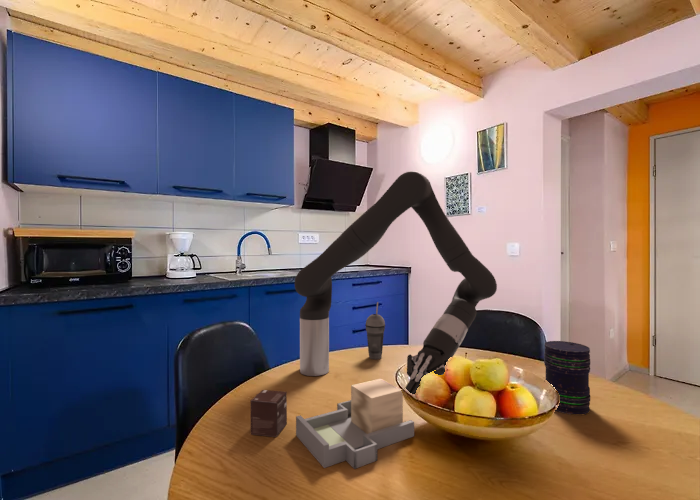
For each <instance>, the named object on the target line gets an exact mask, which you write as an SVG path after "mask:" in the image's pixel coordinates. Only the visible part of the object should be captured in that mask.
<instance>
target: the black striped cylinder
mask: <svg viewBox="0 0 700 500" xmlns="http://www.w3.org/2000/svg"><path fill="white" fill-rule="evenodd" d="M590 353H591V348H590V347H589V346H587V345H585V344H581V343H577V342H572V341H564V340H550V341H545V342H544V353H543V354H544V355H543V358H544V366H545V380H547V381H548V382H549V383H550V384H552V385H553V387H555V389H556V390H557V391H558V393H559V395H560V403H559V406H558V408H557V410H555V412H558V413H562V414H566V413H567V414H566V415H571V414H585V415H587V414H586V413H588V412H589V411H590V412H591V409H590V408H591V407H590V405H591V391H590V390H591V388H590V385H589V384H590V381H589V380H590V378H589V377H590V375H589V374H590V372H591V354H590ZM590 412H589V413H590ZM589 413H588V414H589Z"/></svg>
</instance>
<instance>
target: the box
mask: <svg viewBox="0 0 700 500" xmlns="http://www.w3.org/2000/svg"><path fill="white" fill-rule="evenodd" d="M287 404H288V403H287V391H281V390H270V389H269V390H267V389H266V390H265V389H264V390H261V391H260V392H258V393H257V394H256V395H255V396H254V397H252V398H251V400H250V435H253V436H263V437H264V436H265V437H273V438H276V437H278V436H279V434H280V433H282V431H283V430H284V428H285V427H286V425H287V424H288V418H287V417H288V413H287V411H288V406H287Z"/></svg>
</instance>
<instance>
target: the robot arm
mask: <svg viewBox="0 0 700 500" xmlns="http://www.w3.org/2000/svg"><path fill="white" fill-rule="evenodd" d="M410 208H411V209H412V210H413V211H414V212H415V213H416V214H417V215H418V217H419V218H420V219H421V220H422V222H423V224H424V225H425V227H426V228H427V232H428V234H429V235H430V237H431V239H432V242H433V244H434V247H435V248H436V250H437V252H438V254H440V257H441V258H442V259H443V261H444V263H445V264H446V266H447V267H448V268H449V270H450V271H451V272H454V273H460V274H461V276H463V279H462V280H461V281H460V282H459V283H458V285H457V287H456V289H455V292H454V294H453V296H452V299H451V301H450V302H449V304H448V306H446V309H445V311H444V312H443V314H442V315H441V316H440V317H439V318H438V319H437V320H436V322H435V323H434V325H433V326H432V328H431V330H430V331H429V333H428V334H427V335H426V338H424V340H423V343H422V344H423V345H422V348H421V350H419V351H418V352H417V354H415V355H412V354H408V355H407V356H406V357H407V361H406V375H407V376H408V377H409V381H408V383H407V384H406V386H405V387H404V389H405V388H406V389H407V390H408V391H409V392H410V393H412V394H415V393H416V390H417V388H418V387H419V384H420V381H421V378H422V377H423V376H424V375H426V374H428V373H430V372H432V371H434V370H436V371H434V373H435V374H438V375H443V374H444V372H445V365H446V362H447V363H448V362H449V361H448V359H449V358H450V357H452V358H453V357H454V356H455V354H456V352H457V350H459V347H460V346H461V344H462V343H463V341H464V339H465V337H466V335H467V332H468V331H469V328H470V327H471V326H472V324H473V322H474V321H475V319H476V317H477V314H478V312H477V309H476V307H477V305H478V304H479V302H481V301H483V300H486V299H489V298H491V297H493V296H494V295H495V294H496V292H497V290H498V289H497V288H498V284H497V280H496V278H495V276H494V275H493V273H492V272H491V271H490V270H489V268H487V267H486V266H485V264H483V263H482V262H481V261H480V260H479V259H478V258H477V257H475V255H473V252H472V251H470V249H469V247H468V245H467V244H466V243H465V241H464V239H463V238H462V237H461V235H460V234H459V232H458V231H457V229H456V228H455V227H454V225H453V224H452V222H451V221H450V220H449V218H448V217H447V215H446V213H445V212H444V211H443V208H442V206H441V204H440V203H439V201H438V199H437V196H436V194H435V191H434V189H433V187H432V183H431V181H430V180H429V179H428V178H427V176H425V175H424V174H422V173H420V172H419V171H414V170H409V171H406V172H403V173H402V174H400V175H399V176H398V177H397V178H396V179H395V180H394V182H392V184H391V185H390V186H389V187H388V188H387V190H386V191H385V192H384V193H383V194H382V195H381V196H380V197H379V199H378V200H377V201H376V202H375V203H373V205H372V206H370V207H369V208H367V210H366V211H365V212H363V213H362V214H361V215H360V216H359V217H358V218H357V219H355V221H353V222H352V223H351V225H349V226H348V227H347V228H346V229H345V230H344V231H343V232H342V233H341V234H340V235H339V236H338V237H337V238H336V239H335V240H334V241H333V242H331V244H330V245H329V246H327V248H326V249H325V250H324V251H323V252H322V253H321V254H320V255H318V256H317V257H316V258H315V259H313V260H312V261H311V262H309V263H308V264H307V265H305V266H304V267H303V268H302V269H300V270H299V272H298V273H297V274H296V276H295V278H294V289H295V291H296V293H297V295H300V296H302V297H304V298H306V300H305V303H303V306H302V307H300V310H299V373H300V374H301V375H303V376H306V377H307V376H308V377H309V376H310V377H318V376H323V375H326V374H328V373H329V372H330V311H331V307H332V300H333V299H332V298H333V296H332V294H333V279H332V277H333V276H334V275H335V274H336V273H337V272H339V271H340V270H342V269H344V268H347V267H348V266H349V265H352V264H353V263H355V262H357V261H358V260H359V259H361V258H362V257H363V256H365V255H366V254H367V253H368V252H369V251H370V250H372V249H373V248H375V247H374V246H376V245H377V244H378V243H379V242H380V240H381V239H383V237H384V235H385V233H386V232H387V231H388V230H389V227H390V226H391V225H392V224H393V222H395V221H396V220H397V218H399V217H400V216H401V215H403V214H404V213H405V212H407V211H408V210H410ZM446 366H447V365H446Z"/></svg>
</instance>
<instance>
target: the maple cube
mask: <svg viewBox="0 0 700 500" xmlns="http://www.w3.org/2000/svg"><path fill="white" fill-rule="evenodd" d="M401 390H403V389H401V388H400V387H397V386H395V385H394V384H392V383H390V382H388V381H386V380H384V379H382V378H376V379H373V380H369V381H364V382H360V383H356V384H355V383H354V384H351V387H350V393H351V394H350V395H351V397H350V400H351V422H353V423H354V424H355V425H356V426H358V427H359V428H360V429H361V430H363V431H364V432H365V433H366V434H369V433H372V432H375V431H378V430H381V429H384V428H387V427H391V426H394V425H397V424H400V423H403V422H404V420H403V419H404V415H403V414H404V409H403V406H404V405H403V403H404V402H403V401H404V398H403V397H404V394H403V393H402V391H401Z"/></svg>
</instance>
